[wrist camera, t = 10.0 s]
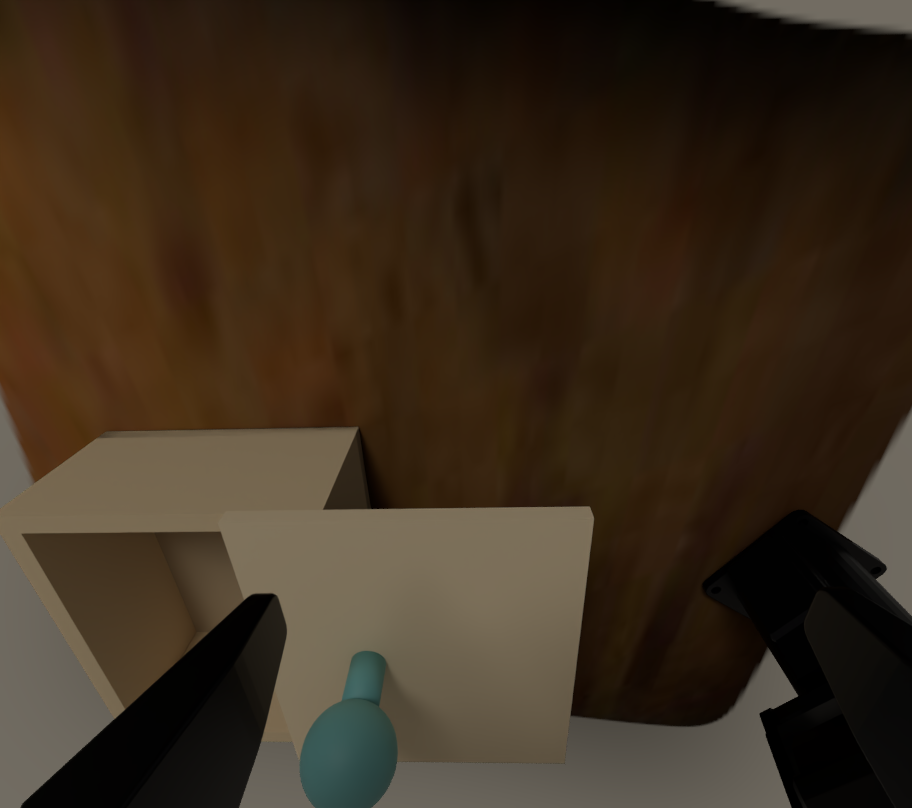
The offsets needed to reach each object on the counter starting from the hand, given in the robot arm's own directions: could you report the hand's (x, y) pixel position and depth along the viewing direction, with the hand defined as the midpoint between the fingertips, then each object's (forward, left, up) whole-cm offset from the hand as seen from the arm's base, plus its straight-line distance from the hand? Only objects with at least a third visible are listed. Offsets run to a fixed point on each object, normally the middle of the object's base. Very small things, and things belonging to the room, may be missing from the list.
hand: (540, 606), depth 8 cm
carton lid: (-3, +11, -7) cm, 13 cm away
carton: (+4, +16, -13) cm, 21 cm away
